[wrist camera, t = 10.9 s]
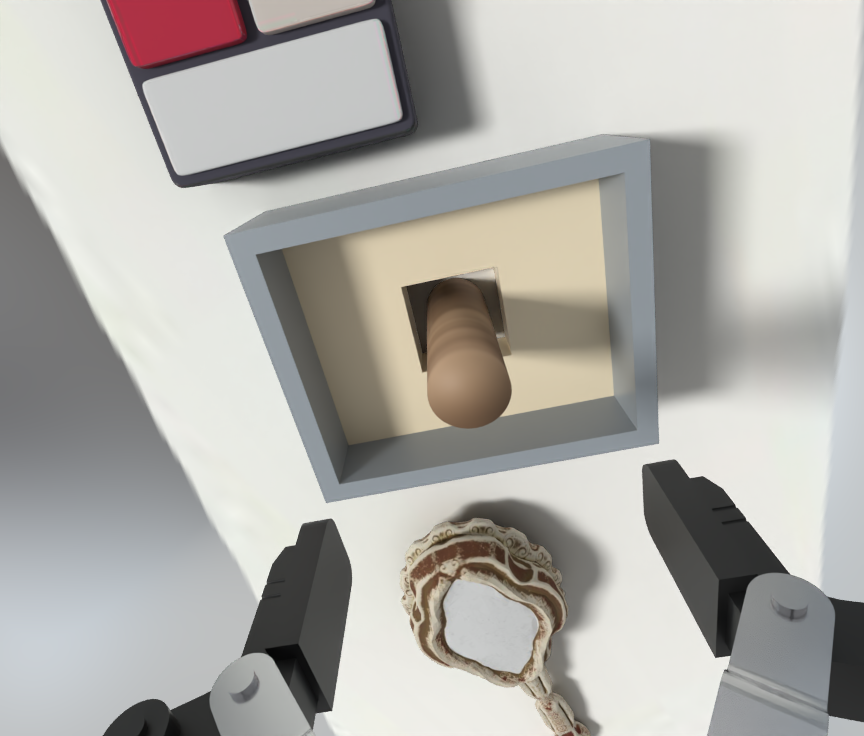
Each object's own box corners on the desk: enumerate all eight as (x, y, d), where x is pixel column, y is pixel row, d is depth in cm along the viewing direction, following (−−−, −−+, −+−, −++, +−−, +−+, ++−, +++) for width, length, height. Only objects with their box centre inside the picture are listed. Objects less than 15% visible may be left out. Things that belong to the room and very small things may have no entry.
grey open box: (264, 211, 26) (223, 235, 21) (601, 134, 25) (649, 139, 20) (342, 438, 32) (326, 502, 27) (618, 386, 31) (658, 443, 26)
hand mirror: (519, 788, 45) (351, 595, 31) (519, 713, 50) (374, 515, 36) (646, 791, 42) (523, 572, 27) (634, 709, 46) (524, 487, 32)
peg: (421, 284, 28) (418, 363, 19) (479, 272, 28) (505, 346, 19) (433, 338, 30) (436, 435, 20) (489, 326, 29) (517, 420, 20)
